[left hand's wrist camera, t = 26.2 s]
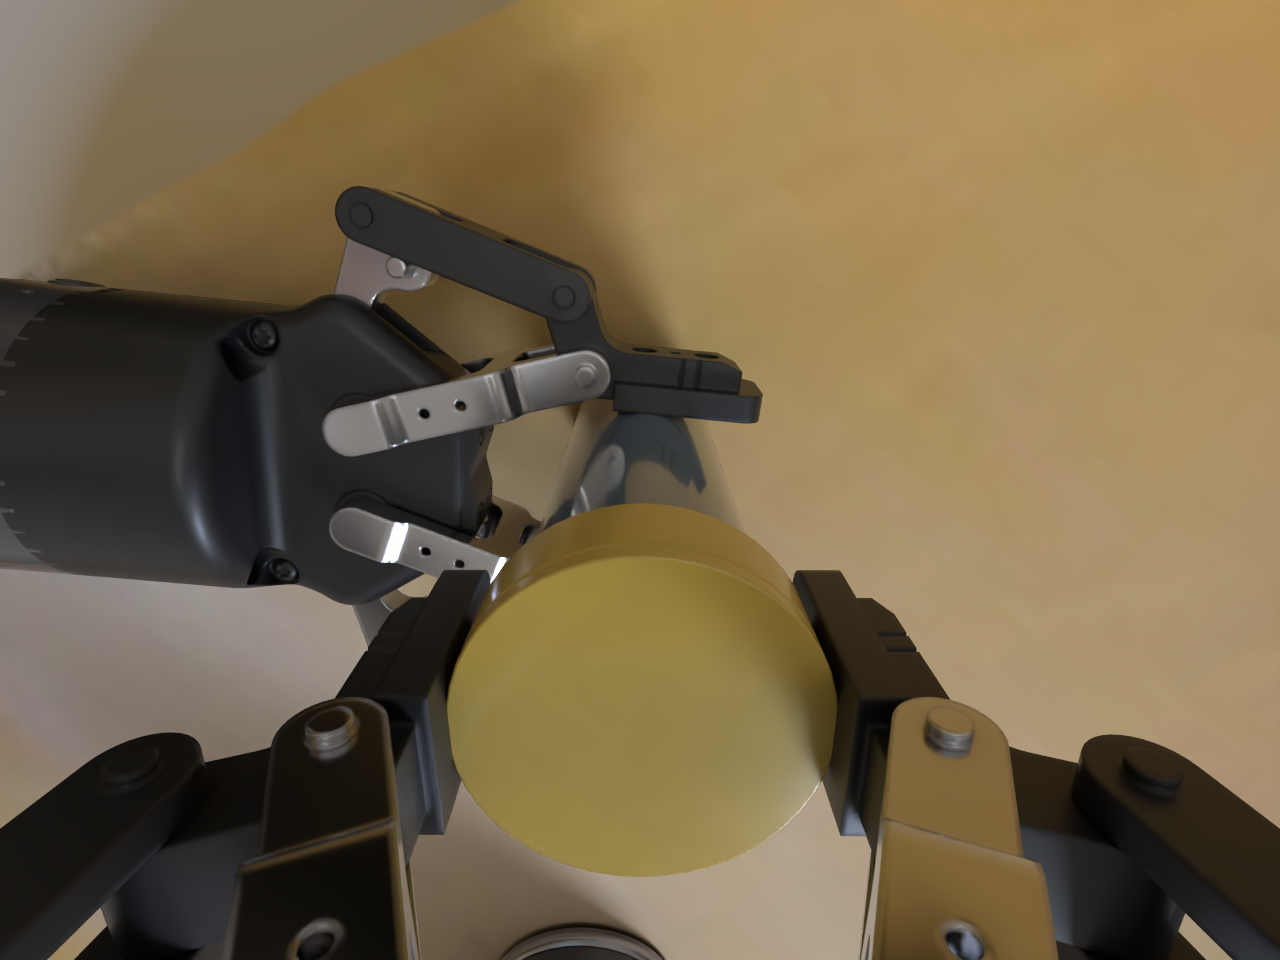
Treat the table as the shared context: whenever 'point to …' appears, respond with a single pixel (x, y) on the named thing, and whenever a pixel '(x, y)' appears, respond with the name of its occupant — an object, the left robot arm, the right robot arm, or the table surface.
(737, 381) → the right robot arm
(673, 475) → the blue grey cylinder
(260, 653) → the table surface
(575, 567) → the lid
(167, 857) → the left robot arm
